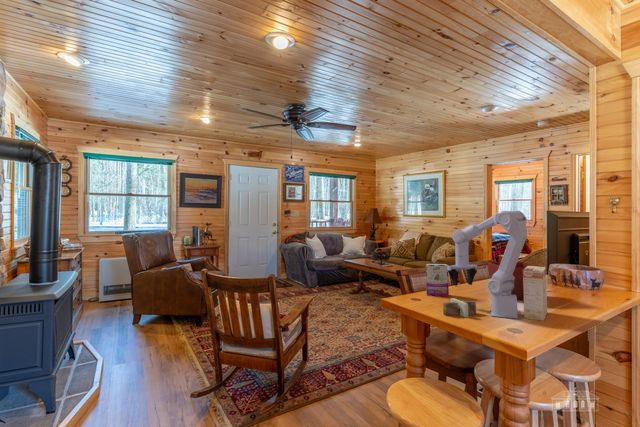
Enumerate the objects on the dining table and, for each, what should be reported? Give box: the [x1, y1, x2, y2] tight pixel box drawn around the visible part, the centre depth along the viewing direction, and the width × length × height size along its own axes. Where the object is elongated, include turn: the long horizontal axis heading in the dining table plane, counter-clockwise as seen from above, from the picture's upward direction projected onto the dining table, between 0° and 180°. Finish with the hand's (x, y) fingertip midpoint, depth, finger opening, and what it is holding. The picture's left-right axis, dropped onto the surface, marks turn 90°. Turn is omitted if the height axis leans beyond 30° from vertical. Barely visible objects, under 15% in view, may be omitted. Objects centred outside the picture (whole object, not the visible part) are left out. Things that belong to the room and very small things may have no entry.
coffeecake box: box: [523, 265, 548, 322], centre depth 137 cm, size 15×7×20 cm, turn 141°
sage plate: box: [450, 297, 469, 318], centre depth 140 cm, size 10×2×6 cm, turn 11°
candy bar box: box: [425, 263, 450, 297], centre depth 175 cm, size 11×5×16 cm, turn 73°
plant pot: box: [487, 261, 542, 301], centre depth 167 cm, size 19×19×17 cm
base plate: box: [442, 300, 477, 317], centre depth 140 cm, size 14×2×5 cm, turn 100°
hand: (462, 285), depth 154 cm, fingers open, 7 cm apart
